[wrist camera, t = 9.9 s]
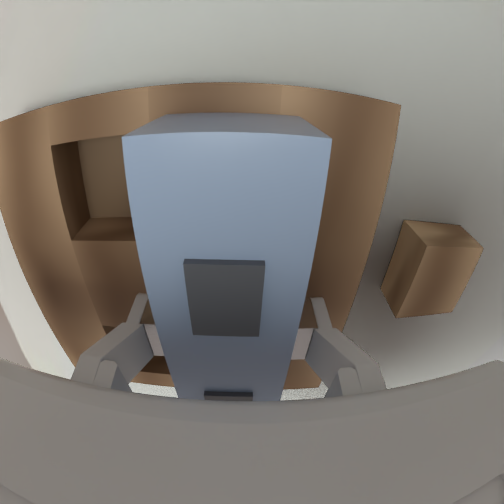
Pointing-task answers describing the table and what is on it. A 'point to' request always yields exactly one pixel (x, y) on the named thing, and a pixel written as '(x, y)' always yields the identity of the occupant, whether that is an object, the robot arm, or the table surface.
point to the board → (118, 208)
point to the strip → (226, 243)
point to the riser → (429, 268)
